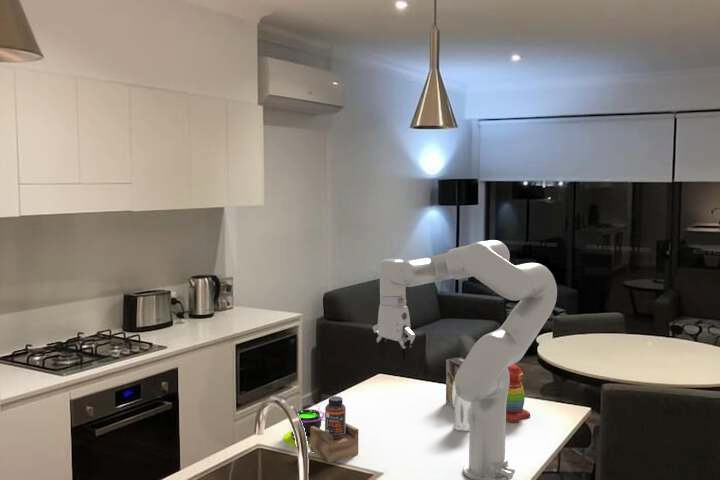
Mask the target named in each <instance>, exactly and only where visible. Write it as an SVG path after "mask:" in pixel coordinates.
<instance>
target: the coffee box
mask: <svg viewBox="0 0 720 480" xmlns="http://www.w3.org/2000/svg"><path fill="white" fill-rule="evenodd" d="M464 360H465V358H463V357H461V356H460V357H452V358H446V359H445V361H446V362H445V372H446V373H445V391H446V392H445V404H448V405H449V406H451V407H453V399H452V392H453V382H454V381H455V376H456V373H457V371H458V369H459V368H460V366H461V365H462V363H463V362H464Z"/></svg>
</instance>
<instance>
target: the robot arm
mask: <svg viewBox="0 0 720 480" xmlns="http://www.w3.org/2000/svg"><path fill="white" fill-rule="evenodd" d="M510 256H511V255H510V250H509V249H508V246H507V245H506V244H505V243H504V242H502V241H500V240H496V239H489V240H482V241H481V240H480V241H475V242H473V243H471V244H469V245H464V246H458V247H455V248H451V249H449V250H448V251H447V252H446V253H442V254H437V255H434V256H433V255H432V256H428V257H422V258H416V259H409V260H404V259H400V258H386V259H382V260H381V261H380V263H379V302H380V303H379V307H378V316H377V317H378V318H377V324H375V325H373V326H372V330H373V333H374V337H375V338H376V343H377V355H378V357H382V356H386V355H388V341H387V340H391V341H396V342H398V343H399V345H400V348H399V354H400V355H399V357H400V358H399V360H400V362H402V363H404V362H409V361H410V360H411V359H410V358H411V357H410V355H411V354H410V353H411V352H410V348H411V347H412V345H413V344H414V341H415V338H416V334H415V333H414V332H413V331H412V330H411V329H412V328H411V317H410V311H409V307H408V306H407V301H408V300H407V297H406V288H411V287H416V286H421V285H425V284H426V285H427V284H430V283H436V282H441V281H446V280H451V279H454V280H461V279H466V278H471V277H474V278H475V279H476V280H478V281H479V282H480V283H482V284H483V285H485V286H487V288H489V289H491V290H492V291H494V293H497V295H499V296H501V297H503V298H504V299H506V300H509V301H519V302H518V303H517V304H516V305H515V306H514V308H513V309H512V310H511V311H510V313H509V315H508V317H506V319H505V321H504V322H503V324H502V325H501V326H500V327H499V328H498V329H496V330H494V331H491V332H489V333H486V334H484V335H482V336H481V337H480V338H479V339H478V340H476V342H475V344H474V345H473V346H472V347H471V349H470V350H469V352H468V354H466V355H467V356H466V357H465V358H464V359H465V360H464V362H463V363H462V365H461V366H460V368H459V369H458V371H457V373H456V376H455V381H454V384H455V389H456V392H457V394H458V395H459V396H460V397H461V398H462V399H463V400H465V401H468V402H471V404H470V429H469V431H468V434H469V436H468V438H469V439H468V440H469V441H468V443H469V445H468V461H467V462H466V463H464V464H463V466H462V472H463V474H464V476H466V477H467V478H468V479H470V480H512V479H513V477H514V474H515V472H516V470H515V469H514V468H512V467H509V460H508V459H506V456H505V455H506V427H507V426H506V425H507V424H506V423H507V421H506V402H507V395H508V389H509V383H510V375H509V370H508V368H507V367H509V366H511V365H513V364H516V363H518V362H520V361H521V359H523V357H524V355H525V354H526V353H527V351H528V350H529V348H530V346H531V345H532V343H533V342H534V341H535V339H536V338H537V336H538V334H539V333H540V332H541V329H543V326H544V325H545V324H546V322H547V321H548V319H549V318H550V316H551V314H552V312H553V310H554V308H555V306H556V302H557V297H558V286H557V283H556V279H555V277H554V274H553V273H552V272H551V270H550V269H549V268H548V267H547V266H545V265H543V264H541V263H538V262H537V263H536V262H525V263H521V264H515V265H514V264H513V263H511V262H510Z"/></svg>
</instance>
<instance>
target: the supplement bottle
mask: <svg viewBox="0 0 720 480" xmlns="http://www.w3.org/2000/svg"><path fill="white" fill-rule="evenodd" d="M346 412H347V411H346V406H345V405H344V404H343V397H341V396H338V395H337V396H335V395H334V396H330V397H328V404H326V406H325V408H324V413H325V415H324V417H325V418H324V430H325V432H326V433H328V434H330V435H332V436H333V439H341V438H343V437H344V436H345V423H346V420H347V419H346V415H347V413H346Z"/></svg>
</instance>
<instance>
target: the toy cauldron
mask: <svg viewBox="0 0 720 480" xmlns="http://www.w3.org/2000/svg"><path fill="white" fill-rule="evenodd" d="M310 401H311V402H312V403H311V405H312V406H317V407H318V409H310V408H309V409H308V408H307V409H303V407H300V408H301V409H299V410H296V411H297V412H298V413H299V416H300V418H301V421H302V423H303V426H304V428H305V432H306V436H307V441H308V446H310V427H311V426H315V427H317V428H319V429H321V426H322V421H323V422H325V412H324V411H322V410H320V406H319V404H318V405H317V404H315V402H314V401H312V400H310ZM303 402H305V400H304V401H301V403H302V406H305V404H304V403H303ZM297 406H298V405H297ZM297 406H295V407H294V408H295V409H296V408H297ZM321 430H323V431H325V429H321ZM282 438H283V442H285V444H288V445H289V446H293V447H297V446H296V444H295V438H294V434H293V431H292V430H290V431H288V432H286V433H285V434H284V435H283V436H282Z"/></svg>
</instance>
